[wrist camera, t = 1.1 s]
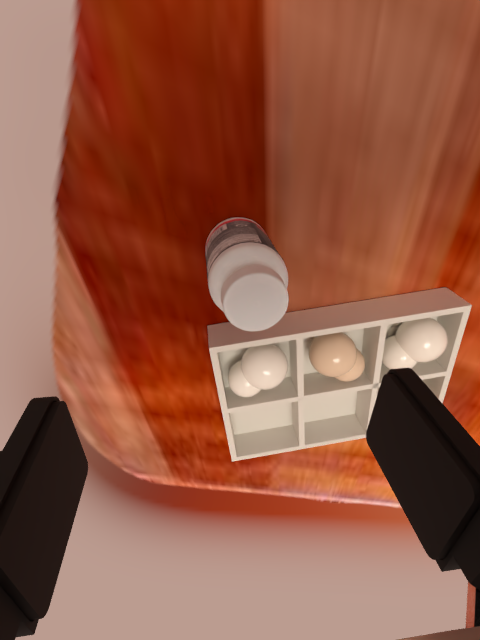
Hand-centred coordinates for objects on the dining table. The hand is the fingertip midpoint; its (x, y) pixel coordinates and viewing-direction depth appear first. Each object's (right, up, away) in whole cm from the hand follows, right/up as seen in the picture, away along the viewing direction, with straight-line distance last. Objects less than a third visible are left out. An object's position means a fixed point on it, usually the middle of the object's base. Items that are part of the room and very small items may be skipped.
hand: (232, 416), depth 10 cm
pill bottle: (0, +9, +18) cm, 20 cm away
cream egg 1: (+2, -1, +23) cm, 23 cm away
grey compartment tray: (+10, -2, +26) cm, 28 cm away
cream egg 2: (+17, +2, +24) cm, 29 cm away
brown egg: (+9, +1, +24) cm, 25 cm away
